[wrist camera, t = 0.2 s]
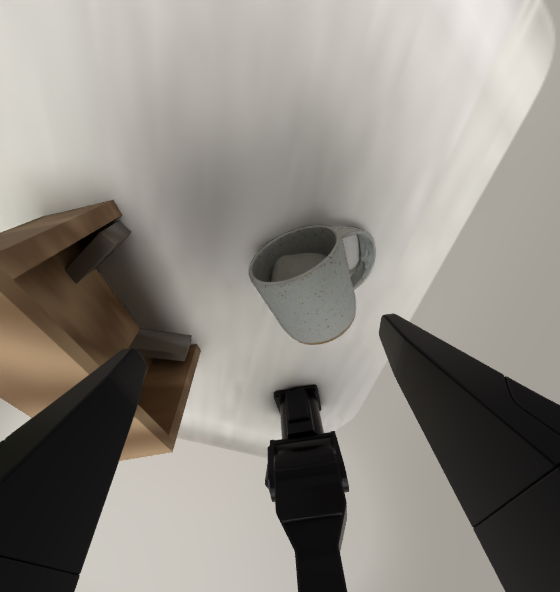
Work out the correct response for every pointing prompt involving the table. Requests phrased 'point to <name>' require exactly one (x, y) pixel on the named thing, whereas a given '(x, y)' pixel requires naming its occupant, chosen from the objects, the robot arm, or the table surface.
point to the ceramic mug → (312, 280)
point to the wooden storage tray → (82, 325)
